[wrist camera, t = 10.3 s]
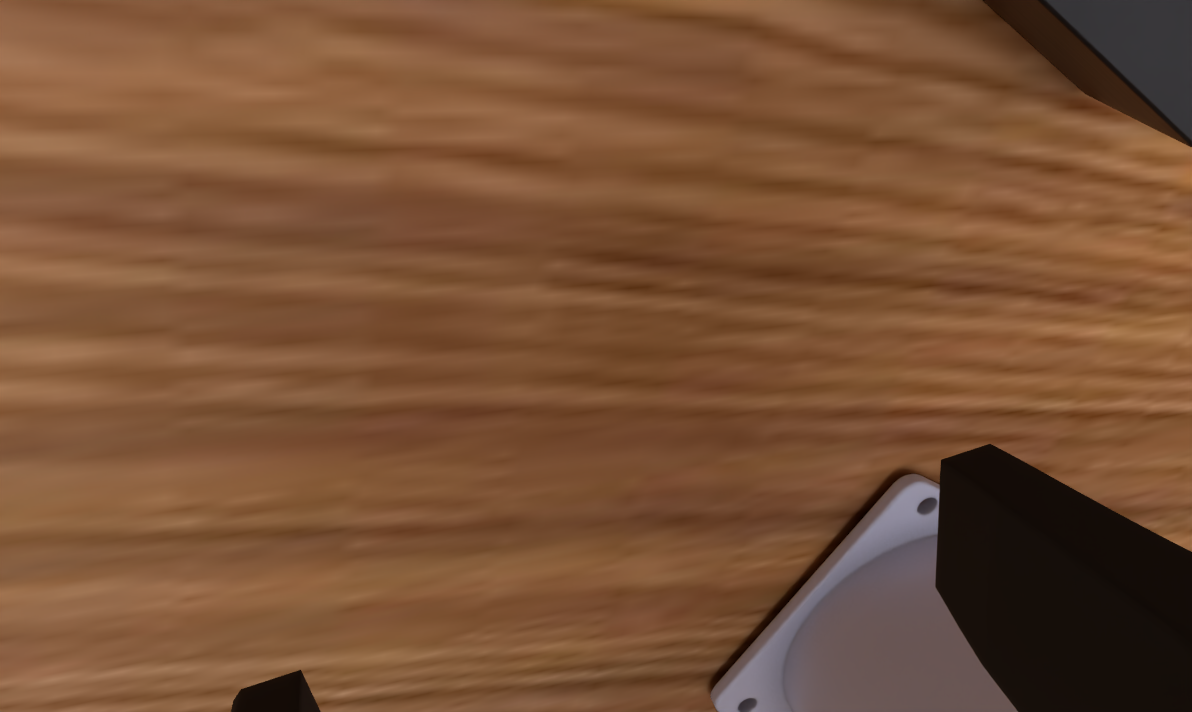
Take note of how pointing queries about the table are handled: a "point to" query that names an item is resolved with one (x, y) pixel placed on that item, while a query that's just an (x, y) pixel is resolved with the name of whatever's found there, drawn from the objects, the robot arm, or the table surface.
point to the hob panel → (1117, 53)
